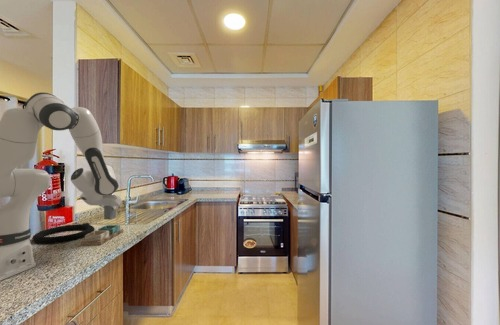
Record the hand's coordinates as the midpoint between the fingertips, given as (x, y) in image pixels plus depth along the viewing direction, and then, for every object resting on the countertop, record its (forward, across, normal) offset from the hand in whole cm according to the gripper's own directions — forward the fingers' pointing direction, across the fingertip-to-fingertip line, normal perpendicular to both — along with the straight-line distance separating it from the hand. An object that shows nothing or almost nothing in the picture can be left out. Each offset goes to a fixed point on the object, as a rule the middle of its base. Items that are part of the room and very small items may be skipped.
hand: (110, 208), depth 135 cm
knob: (+4, 0, +5) cm, 6 cm away
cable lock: (+7, +24, +15) cm, 29 cm away
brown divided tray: (+7, -1, +15) cm, 16 cm away
